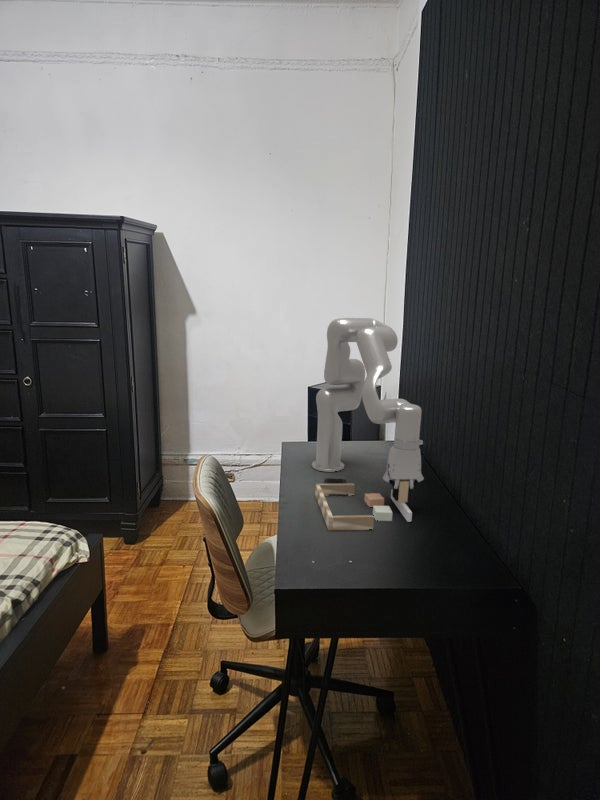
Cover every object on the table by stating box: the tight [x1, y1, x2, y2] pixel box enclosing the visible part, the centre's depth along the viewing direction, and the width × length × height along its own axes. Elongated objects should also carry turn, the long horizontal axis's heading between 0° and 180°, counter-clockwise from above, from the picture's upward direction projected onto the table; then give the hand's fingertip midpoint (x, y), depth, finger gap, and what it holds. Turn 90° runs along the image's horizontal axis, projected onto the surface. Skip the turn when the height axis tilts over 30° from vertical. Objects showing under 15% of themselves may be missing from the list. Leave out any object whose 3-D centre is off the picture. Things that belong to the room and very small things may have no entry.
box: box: [314, 483, 375, 531], centre depth 168 cm, size 26×13×4 cm, turn 7°
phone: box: [323, 478, 349, 498], centre depth 187 cm, size 8×1×15 cm
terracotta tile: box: [363, 492, 385, 508], centre depth 174 cm, size 5×5×3 cm
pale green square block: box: [372, 505, 394, 522], centre depth 165 cm, size 5×5×3 cm
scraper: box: [390, 480, 413, 523], centre depth 170 cm, size 18×3×10 cm, turn 7°
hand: (401, 498), depth 170 cm, fingers closed on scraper, 3 cm apart
